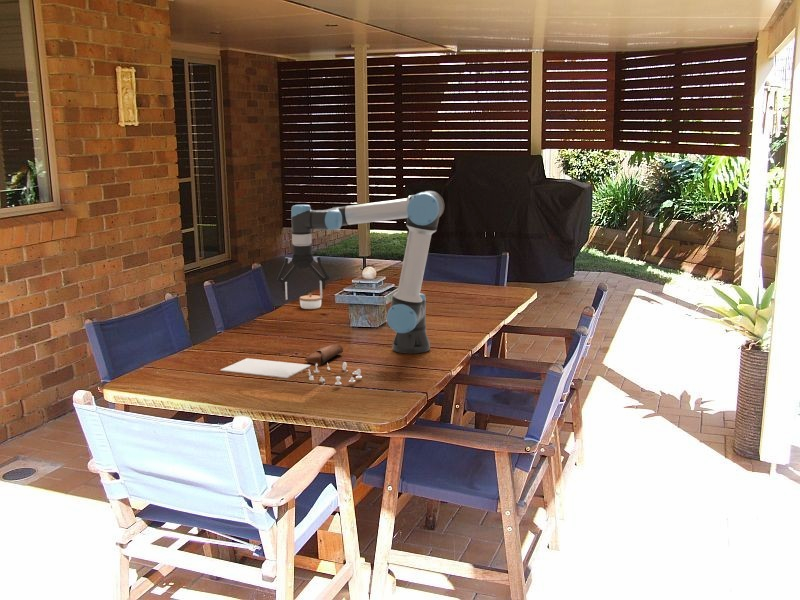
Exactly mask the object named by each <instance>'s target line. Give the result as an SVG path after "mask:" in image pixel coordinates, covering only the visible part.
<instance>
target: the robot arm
mask: <svg viewBox="0 0 800 600" xmlns="http://www.w3.org/2000/svg"><path fill="white" fill-rule="evenodd" d="M444 201H445V200H444V198H443V197H442V196H441V194H439V193H438V192H437V191H434V190H425V191H420V192H418V193H416V194H411V195H408V197H406V198H399V199H392V200H391V199H390V200H383V201H375V202H368V203H361V204H351V205H345V206H332V208H331V207H330V208H328V209H327V208H326V209H316V210H315V209H312V207H311V205H310V204H295V205H292V206H291V208H290V209H291V214H290V215H291V216H290V218H291V239H292V241H291V243H292V246H291V248H292V257H288V256H285V257H284V263H283V265H282V268H281V269H280V272H279V274H278V276H277V279H276V280H277V282H279V283H281V290H282V292H285V295H284V296H285V301H287V300H288V282H287V280H289V278H290V277H291V275H292V274H293V273H294V271H295V270H297V269H299V270H301V269H310V270H311V271H312V272H313V273H314V274H315V275H316V276H317V278H319V279H320V280H319V296H320V298H322V299H323V290H325V288H326V281H328V280H330V276H329V274H328V272H327V270H326V269H325V267H324V264H322V262H321V257H320V256H319V255H317V256H313V246H312V245H311V244H312V242H313V239H312V237H313V236H312V230H320V231H321V230H326V231H327V230H328V231H335V230H340V229H341V227H342V226H348V225H349V226H351V225H358V224H359V225H360V224H366V223H367V224H368V223H373V222H374V223H376V222H384V221H392V220H401V219H406V225H405V226H406V227H407V229H408V235H407V241H406V247H405V250H404V256H403V259H402V260H403V262H402V266H401V272H400V276H399V282H398V288H397V291H395V292H393V294H392V298H391V303H390V306H389V308H388V310H387V311H386V323H387V325H388V326H389V328H390V329H391V330H392V331H393V332H395V335H394V339H393V342H392V351H393V352H397V353H400V354H421V353H426V352H428V351H431V342H430V339H429V337H428V334H427V333H428V332H427V328H426V323H427V322H426V321H427V320H426V318H427V316H426V312H427V310H426V309H427V308H426V305H427V300H426V299H427V298H426V294H424V293H421V289H422V284H423V281H424V280H423V279H424V276H425V275H424V274H425V269H426V265H427V261H428V255H429V250H430V249H429V248H430V245H431V244H430V243H431V239H432V235H433V234H434V233H436V232H437V230H438V224H439V220H440V217H441V216H442V215H443V214H444V211H445V202H444ZM314 261H315V262H316V263H317V264H318V266H319V268H320V270H321V271H322V273H323V275H324V276H323V275H322V274H321V273H320V272H319V271H318V270H317V269H316V267H314V266H313V262H314ZM290 262H292V263H293V265H292V267H291V268H290V269H289V271H288V272H286V275H284V273H285V271H286V269H287V267H288V264H290ZM283 275H284V277H283ZM282 277H283V278H282Z"/></svg>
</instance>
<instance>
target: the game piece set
mask: <svg viewBox="0 0 800 600" xmlns="http://www.w3.org/2000/svg"><path fill="white" fill-rule="evenodd" d="M326 364H327V367H326V368H327V371H331V368H330V366H329V363H328V362H327V363H326ZM314 366H315V369H313V370H312V372H313V373H315V374H316V373H320V370H319V368H318V366H319V365H318V364H317V363H316V364H314ZM347 366H348V363H347V362H346V361H344V362H342V368H341V369H343V371H344V372H348V371H349V370H348V369H347ZM307 371H308V376H309V377H308V380H309V381H314V380H315V379H314V375H312V372H311V369H310V368H307ZM361 373H362V371H361V369H360V368H357V369H356V370H354V371H353V372H352V375H356V376H355V378H356V379H362V378H363V376H362V375H361ZM355 378H354V377H353V376H351V377H350V380H348V382H349V383H355V382H356V380H355ZM341 379H342V378H341V376H340V375H338V376H335V380H336V382H334V384H335V385H342V384H343V383H342V382H341V381H340V380H341ZM325 381H326V380H325V378H323V376H320V379H319V382H321V385H325V384H326V382H325Z"/></svg>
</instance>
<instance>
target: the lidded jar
mask: <svg viewBox="0 0 800 600" xmlns="http://www.w3.org/2000/svg"><path fill="white" fill-rule="evenodd" d="M322 299H323V297H322V298H320V295H315V294H314V295H313V294H312V293H309V294H307V295H302V296H301V295H300V296H299V304H300V308H301V309H304V310H315V309H319V308H321V307H322Z"/></svg>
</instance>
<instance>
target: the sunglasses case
mask: <svg viewBox="0 0 800 600" xmlns="http://www.w3.org/2000/svg"><path fill="white" fill-rule="evenodd" d="M342 353H344V348H343V346H342V345H341V344H330V345H327V346H325V347H320V348H319V349H316V350H315V351H314V352H313V353H311V354H309V356H308V355H307V356H306V358H304V361H305V362H307V363H310V364H313V365H315V364H316V363H317V364H318V366H321V365H323V364H325V363H326V362H328V361H329V360H331V359H333V358H334V357H336V356H338V355H340V354H342Z"/></svg>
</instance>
